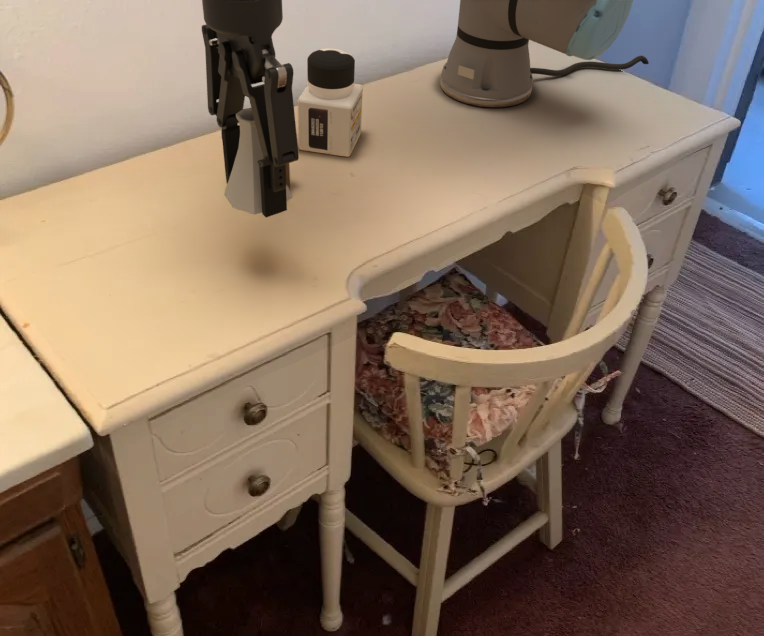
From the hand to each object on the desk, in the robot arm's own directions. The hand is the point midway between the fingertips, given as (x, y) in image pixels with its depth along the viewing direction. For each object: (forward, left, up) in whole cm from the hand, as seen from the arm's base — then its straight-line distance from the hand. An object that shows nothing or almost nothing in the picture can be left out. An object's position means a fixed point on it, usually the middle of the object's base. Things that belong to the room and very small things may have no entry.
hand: (256, 196), depth 94 cm
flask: (0, 0, 0) cm, 1 cm away
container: (-25, -21, -9) cm, 34 cm away
